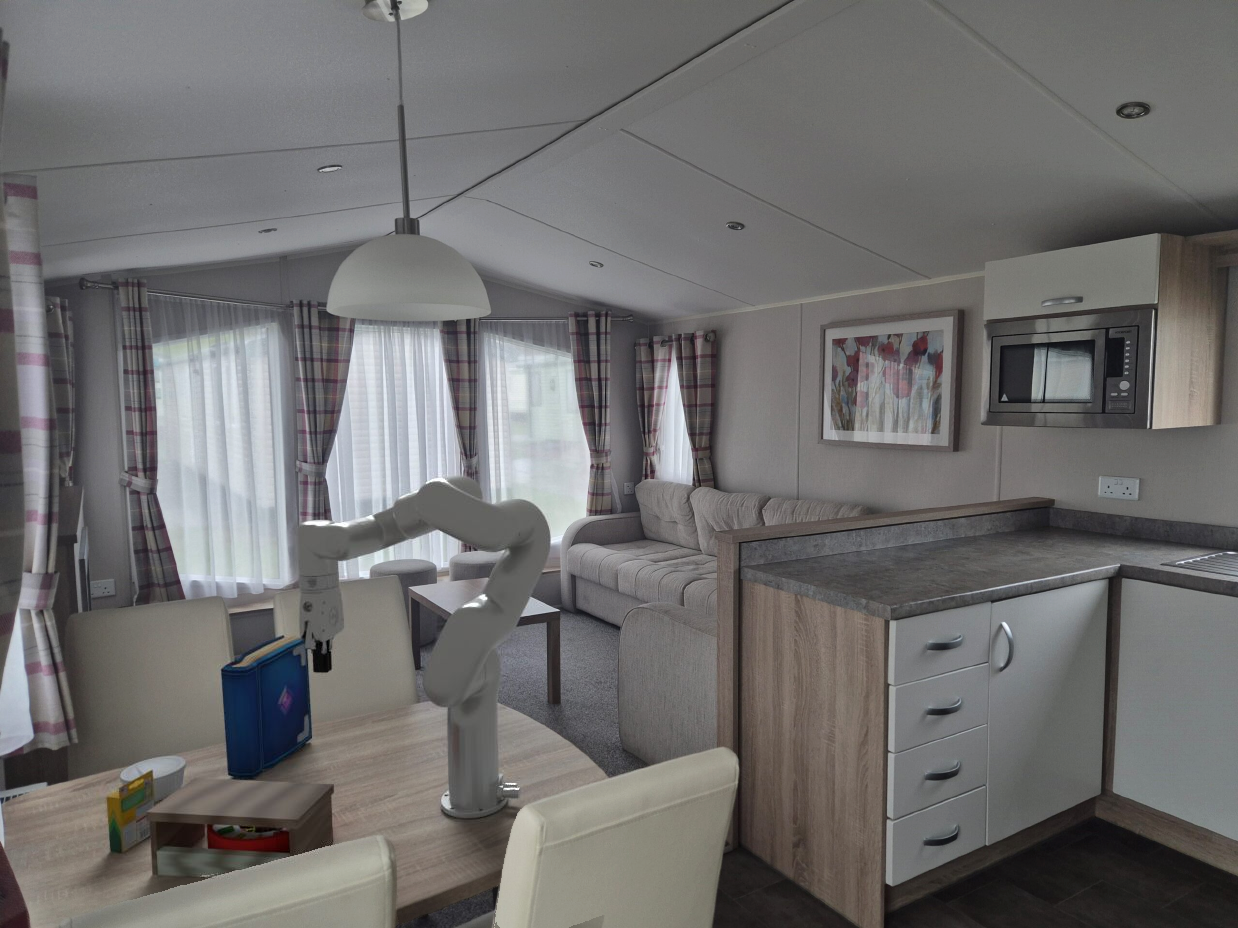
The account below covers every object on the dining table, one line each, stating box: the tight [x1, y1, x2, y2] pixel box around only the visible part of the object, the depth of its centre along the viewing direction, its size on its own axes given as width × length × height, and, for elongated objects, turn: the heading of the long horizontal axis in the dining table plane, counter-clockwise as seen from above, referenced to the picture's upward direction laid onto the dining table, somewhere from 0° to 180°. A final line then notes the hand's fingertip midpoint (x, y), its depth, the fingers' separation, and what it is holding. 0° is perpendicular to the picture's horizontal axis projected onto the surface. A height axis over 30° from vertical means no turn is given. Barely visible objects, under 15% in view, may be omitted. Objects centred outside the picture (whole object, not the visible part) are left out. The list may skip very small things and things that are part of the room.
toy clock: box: [206, 823, 334, 853], centre depth 137 cm, size 20×6×20 cm
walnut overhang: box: [146, 777, 335, 879], centre depth 131 cm, size 26×12×10 cm, turn 83°
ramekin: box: [119, 755, 187, 803], centre depth 155 cm, size 11×11×5 cm
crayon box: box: [106, 770, 156, 854], centre depth 137 cm, size 7×3×12 cm, turn 166°
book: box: [220, 634, 313, 780], centre depth 169 cm, size 22×7×25 cm, turn 168°
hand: (322, 671), depth 158 cm, fingers closed
